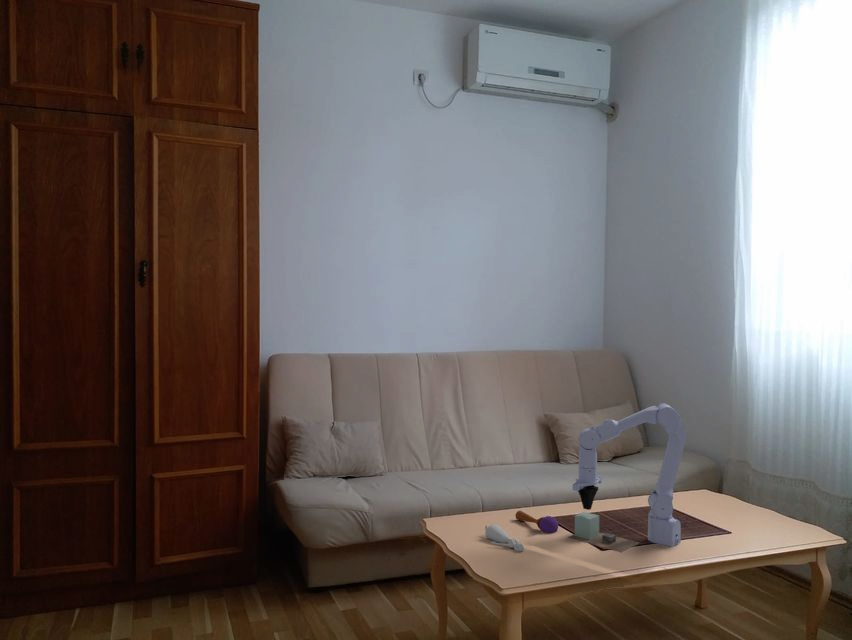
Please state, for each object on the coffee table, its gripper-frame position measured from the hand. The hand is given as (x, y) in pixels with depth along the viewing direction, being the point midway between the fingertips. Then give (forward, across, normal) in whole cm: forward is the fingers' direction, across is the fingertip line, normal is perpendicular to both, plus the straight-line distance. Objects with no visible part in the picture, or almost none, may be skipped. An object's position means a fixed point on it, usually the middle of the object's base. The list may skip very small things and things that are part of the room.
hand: (587, 508), depth 226 cm
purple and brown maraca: (+10, +2, -18) cm, 21 cm away
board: (+10, 0, +6) cm, 11 cm away
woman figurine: (+10, +22, -16) cm, 29 cm away
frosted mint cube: (+9, 0, 0) cm, 9 cm away
